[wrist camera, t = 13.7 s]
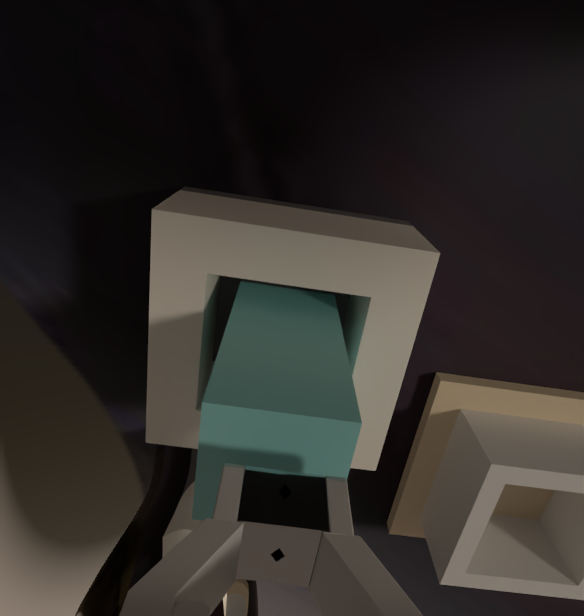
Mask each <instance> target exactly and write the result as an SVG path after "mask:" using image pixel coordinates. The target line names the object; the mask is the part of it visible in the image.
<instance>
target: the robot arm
mask: <svg viewBox="0 0 584 616" xmlns="http://www.w3.org/2000/svg"><path fill="white" fill-rule="evenodd" d="M244 471H245V473H244ZM243 478H244V480H243ZM236 579H243V580H255V581H267V582H272V581H273V582H276V583H283V584H290V585H297V586H304V587H309V591H310V593H311V595H312V597H313V599H314V600H315V602H316V604H317V606H318V608H319V610H320V612H321V614H322V616H423V615H422V614H421V612H420V611H419V610H418V609H417V607H416V606H415V605H414V604H413V602H412V601H411V600H410V599H409V597H408V596H407V595H406V594H405V592H404V591H403V590H402V588H401V587H400V586H399V585H398V583H397V582H396V581H395V580H394V578H393V577H392V576H391V575H390V573H389V572H388V571H387V570H386V568H385V567H384V566H383V565H382V563H381V562H380V561H379V560H378V558H377V557H376V556H375V554H374V553H373V552H372V551H371V549H370V548H369V547H368V546H367V544H366V543H365V542H364V541H363V539H362V538H361V537H360V536H354V532H353V524H352V516H351V509H350V501H349V493H348V486H347V480H346V479H345V478H342V477H333V476H324V475H315V474H307V473H298V472H289V471H280V470H273V469H266V468H260V467H253V466H246V467H245V466H243V465H237V464H230V463H225V464H224V466H223V470H222V474H221V479H220V484H219V489H218V493H217V498H216V503H215V507H214V512H213V517H212V519H211V518H205V519H204V520H203V521H202V522H201V523H200V524H199V525H198V526H197V527H196V528H195V529H194V530H193V531H191V532H190V533H189V534H188V535H187V536H186V537H185V538H184V539H183V540H182V541H181V542H180V543H179V544H178V545H177V546H175V547H174V548H173V549H172V550H171V551H170V552H169V553H168V554H167V555H166V556H165V557H164V558H163V559H162V560H161V561H159V562H158V563H157V564H156V565H155V566H154V567H153V568H152V569H151V570H150V571H149V572H148V573H147V574H146V575H145V576H144V577H142V578H141V579H140V580H139V581H138V582H137V583H136V584H135V585H134V586H133V587H132V588H131V589H130V590H129V591H128V593H127V596H126V599H125V601H124V604H123V607H122V610H121V613H120V615H119V616H210V615H211V613H212V612H213V611H214V609H215V608H216V607H217V605H218V604H219V603H220V601H221V600H222V599H223V597H224V596H225V595H226V593H227V592H228V591H229V589H230V588H231V587H232V585H233V584H234V582H235V580H236Z"/></svg>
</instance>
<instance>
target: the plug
mask: <svg viewBox="0 0 584 616" xmlns="http://www.w3.org/2000/svg"><path fill="white" fill-rule="evenodd" d="M361 425H362V420H361V416H360V411H359V406H358V402H357V397H356V392H355V388H354V383H353V378H352V374H351V369H350V364H349V360H348V355H347V350H346V346H345V341H344V337H343V332H342V327H341V323H340V318H339V313H338V309H337V304H336V299H335V295H334V292H331V291H324V290H317V289H310V288H303V287H296V286H290V285H283V284H276V283H269V282H262V281H255V280H248V279H241V282H240V285H239V288H238V291H237V294H236V298H235V301H234V304H233V307H232V310H231V313H230V316H229V319H228V323H227V326H226V329H225V332H224V335H223V338H222V341H221V344H220V348H219V351H218V354H217V357H216V360H215V363H214V366H213V369H212V373H211V376H210V379H209V382H208V385H207V388H206V391H205V395H204V398H203V401H202V408H201V419H200V431H199V442H198V453H197V464H196V476H195V487H194V498H193V509H192V519H193V520H202V521H203V520H204V519H205V518H211V519H212V517H213V512H214V507H215V503H216V498H217V493H218V489H219V484H220V479H221V474H222V470H223V466H224V464H225V463H230V464H237V465H243V466H245V467H246V466H253V467H260V468H266V469H273V470H280V471H289V472H298V473H307V474H315V475H324V476H333V477H342V478H345V479H346V480H347V478H348V474H349V470H350V466H351V463H352V459H353V455H354V452H355V448H356V444H357V440H358V437H359V433H360V429H361ZM244 473H245V471H244ZM243 480H244V478H243Z"/></svg>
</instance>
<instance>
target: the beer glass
mask: <svg viewBox="0 0 584 616" xmlns="http://www.w3.org/2000/svg"><path fill="white" fill-rule="evenodd" d="M197 453H198V449H193V448H185V447H177V446H169V445H161V444H158V446H157V451H156V456H155V463H154V470H153V476H152V480H151V483H150V486H149V489H148V492H147V494H146V496H145V498H144V500H143V502H142V504H141V506H140V507H139V509H138V511H137V512H136V514H135V516H134V517H133V519H132V520H131V522H130V523H129V525H128V527H127V528H126V530H125V531H124V533H123V534H122V536H121V537H120V539H119V540H118V542H117V544H116V545H115V547H114V548H113V550H112V552H111V553H110V555H109V556H108V558H107V560H106V561H105V563H104V564H103V566H102V567H101V569H100V571H99V573H98V574H97V576H96V578H95V580H94V581H93V583H92V585H91V587H90V588H89V590H88V592H87V594H86V596H85V597H84V599H83V601H82V603H81V604H80V606H79V608H78V611H77V613H76V615H75V616H119V615H120V613H121V610H122V607H123V604H124V601H125V599H126V596H127V593H128V591H129V590H130V589H131V588H132V587H133V586H134V585H135V584H136V583H137V582H138V581H139V580H140V579H141V578H142V577H144V576H145V575H146V574H147V573H148V572H149V571H150V570H151V569H152V568H153V567H154V566H155V565H156V564H157V563H158V562H159V561H161V560H162V559H163V558H164V557H165V556H166V555H167V554H168V553H169V552H170V551H171V550H172V549H173V548H174V547H175V546H177V545H178V544H179V543H180V542H181V541H182V540H183V539H184V538H185V537H186V536H187V535H188V534H189V533H190V532H191V531H193V530H194V529H195V528H196V527H197V526H198V525H199V524H200V523H201V522H202V520H193V519H192V509H193V498H194V487H195V476H196V464H197ZM210 616H258V596H257V585H256V581H255V580H243V579H236V580H235V582H234V584H233V585H232V587H231V588H230V589H229V591H228V592H227V593H226V595H225V596H224V597H223V599H222V600H221V601H220V603H219V604H218V605H217V607H216V608H215V609H214V611H213V612H212V613H211V615H210Z"/></svg>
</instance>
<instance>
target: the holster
mask: <svg viewBox="0 0 584 616" xmlns="http://www.w3.org/2000/svg"><path fill="white" fill-rule="evenodd" d="M387 526H388V531H389V534H395V535H404V536H413V537H421V538H426V540H427V544H428V547H429V550H430V553H431V557H432V560H433V563H434V567H435V570H436V573H437V576H438V580H439V583H440V584H443V585H452V586H461V587H470V588H479V589H488V590H497V591H506V592H515V593H525V594H534V595H543V596H552V597H561V598H570V599H579V600H584V392H577V391H570V390H562V389H555V388H548V387H540V386H533V385H526V384H518V383H511V382H504V381H497V380H489V379H482V378H475V377H467V376H460V375H453V374H446V373H438V372H436V375H435V378H434V381H433V384H432V387H431V390H430V393H429V396H428V399H427V402H426V405H425V408H424V411H423V414H422V417H421V420H420V423H419V426H418V429H417V432H416V435H415V438H414V441H413V444H412V447H411V450H410V453H409V456H408V459H407V462H406V465H405V469H404V472H403V475H402V478H401V481H400V484H399V487H398V490H397V493H396V496H395V499H394V502H393V505H392V508H391V511H390V514H389V517H388V520H387Z"/></svg>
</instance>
